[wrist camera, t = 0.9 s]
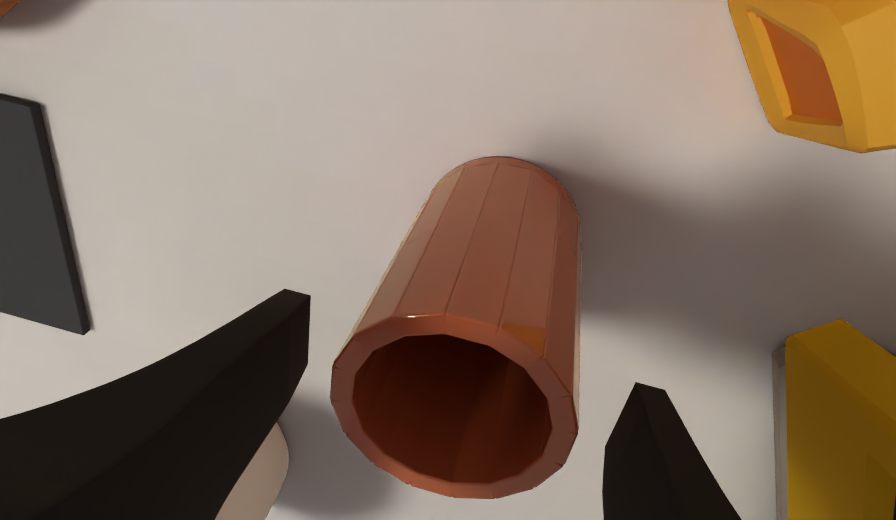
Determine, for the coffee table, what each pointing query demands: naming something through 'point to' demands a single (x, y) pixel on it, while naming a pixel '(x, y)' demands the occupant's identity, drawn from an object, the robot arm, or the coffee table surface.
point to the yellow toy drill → (824, 68)
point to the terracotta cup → (472, 338)
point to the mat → (34, 226)
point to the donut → (7, 5)
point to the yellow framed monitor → (834, 426)
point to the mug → (259, 481)
